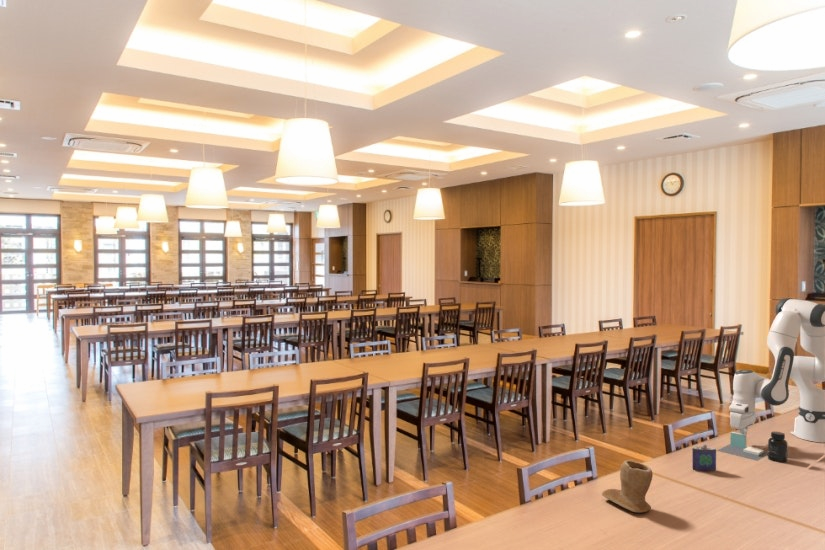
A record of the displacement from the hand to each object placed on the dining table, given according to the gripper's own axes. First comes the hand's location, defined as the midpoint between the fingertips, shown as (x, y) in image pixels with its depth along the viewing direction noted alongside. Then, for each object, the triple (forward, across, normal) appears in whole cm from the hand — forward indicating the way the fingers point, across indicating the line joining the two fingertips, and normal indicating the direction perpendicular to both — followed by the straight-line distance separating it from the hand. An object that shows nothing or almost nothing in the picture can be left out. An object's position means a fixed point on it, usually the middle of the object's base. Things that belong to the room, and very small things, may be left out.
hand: (743, 435), depth 251 cm
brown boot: (+5, +100, 0) cm, 100 cm away
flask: (+5, +46, +2) cm, 46 cm away
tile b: (+4, +6, 0) cm, 7 cm away
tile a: (+3, +7, +8) cm, 11 cm away
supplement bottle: (+5, +11, +17) cm, 21 cm away
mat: (+5, +11, +4) cm, 12 cm away
